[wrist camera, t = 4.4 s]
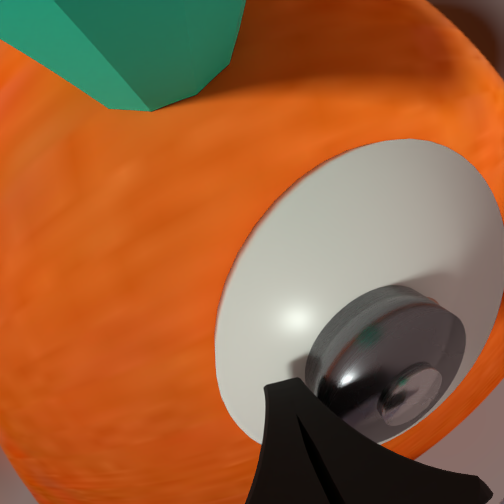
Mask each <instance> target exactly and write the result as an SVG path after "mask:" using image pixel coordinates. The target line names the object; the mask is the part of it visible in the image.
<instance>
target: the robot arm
mask: <svg viewBox="0 0 504 504" xmlns="http://www.w3.org/2000/svg"><path fill="white" fill-rule="evenodd" d="M263 389H264V394H265V423H264V433H263V440H262V446H261V451H260V456H259V461H258V465H257V469H256V473H255V476H254V479H253V483H252V486H251V489H250V492H249V494H248V497H247V500H246V503H245V504H486V503H487V502H488V501H489V500H490V499H491V498H492V496H493V492H492V491H491V490H490V489H489V487H488V486H487V485H486V484H485V483H484V482H483V481H482V480H481V479H480V478H479V477H478V476H475V475H468V474H461V473H455V472H451V471H446V470H442V469H438V468H434V467H431V466H428V465H424V464H422V463H419V462H416V461H414V460H411V459H409V458H406V457H404V456H401V455H399V454H397V453H395V452H393V451H391V450H389V449H387V448H385V447H383V446H381V445H379V444H377V443H376V442H374V441H372V440H371V439H369V438H367V437H366V436H364V435H363V434H361V433H360V432H358V431H357V430H356V429H354V428H353V427H351V426H350V425H349V424H347V423H346V422H345V421H343V420H342V419H341V418H340V417H338V416H337V415H336V414H335V413H334V412H333V411H331V410H330V409H329V408H328V407H327V406H326V405H325V404H324V403H323V402H322V401H320V400H319V399H318V398H317V397H316V396H315V395H314V393H313V392H312V391H311V390H310V389H309V388H308V387H307V386H306V385H305V383H304V382H303V381H302V380H301V379H300V378H298V377H295V378H291V379H288V380H284V381H280V382H275V383H271V384H267V385H265V386H264V388H263ZM498 504H504V499H503V500H501V502H499V503H498Z"/></svg>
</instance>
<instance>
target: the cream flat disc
mask: <svg viewBox="0 0 504 504" xmlns="http://www.w3.org/2000/svg"><path fill="white" fill-rule="evenodd" d="M389 285H401V286H406V287H410V288H412V289H414V290H415V291H417V292H419V293H420V294H422V295H424V296H425V297H427V298H429V299H430V300H432V301H434V302H435V303H437V304H438V305H440V306H442V307H443V308H445V309H446V310H448V311H450V312H451V313H453V314H454V315H456V316H457V317H458V318H459V319H460V320H461V322H462V323H463V325H464V328H465V333H466V346H465V352H464V356H463V359H462V362H461V365H460V367H459V370H458V372H457V374H456V376H455V378H454V380H453V381H452V383H451V385H450V386H449V388H448V389H447V391H446V392H445V393H444V395H443V396H442V397H441V398H440V400H439V401H438V402H437V403H436V404H435V405H434V406H433V407H432V408H431V410H430V411H429V412H427V413H426V414H425V415H424V416H423V417H422V418H421V419H419V420H418V421H417V422H416V423H414V424H413V425H412V426H410V427H409V428H407V429H406V430H404V431H402V432H401V433H399V434H397V435H395V436H393V437H391V438H389V439H387V440H385V441H382V442H379V443H377V444H379V445H380V444H383V443H385V442H387V441H389V440H391V439H393V438H395V437H397V436H399V435H400V434H402V433H404V432H405V431H407V430H408V429H410V428H412V427H413V426H415V425H416V424H417V423H419V422H420V421H421V420H423V419H424V418H425V417H427V416H428V415H429V414H430V413H431V412H433V411H434V410H435V409H436V408H437V407H438V406H439V405H440V404H441V403H442V402H443V401H444V400H445V399H446V398H447V397H448V396H449V395H450V394H451V393H452V392H453V391H454V390H455V389H456V387H457V386H458V385H459V384H460V383H461V381H462V380H463V379H464V377H465V376H466V375H467V373H468V372H469V370H470V369H471V368H472V366H473V365H474V363H475V361H476V360H477V358H478V356H479V355H480V353H481V351H482V349H483V347H484V345H485V343H486V341H487V339H488V337H489V335H490V333H491V330H492V328H493V325H494V323H495V320H496V317H497V314H498V310H499V307H500V303H501V299H502V295H503V290H504V226H503V221H502V218H501V214H500V210H499V207H498V205H497V202H496V200H495V198H494V195H493V193H492V191H491V190H490V188H489V186H488V184H487V183H486V181H485V179H484V178H483V177H482V176H481V174H480V173H479V172H478V171H477V170H476V168H475V167H474V166H473V165H472V164H470V163H469V162H468V161H467V160H466V159H465V158H464V157H462V156H461V155H459V154H458V153H456V152H454V151H453V150H451V149H449V148H447V147H445V146H442V145H439V144H436V143H433V142H430V141H424V140H416V139H401V140H389V141H382V142H377V143H371V144H367V145H363V146H360V147H356V148H353V149H350V150H346V151H344V152H342V153H340V154H338V155H336V156H334V157H332V158H330V159H328V160H326V161H324V162H322V163H320V164H319V165H317V166H316V167H314V168H313V169H312V170H310V171H309V172H307V173H306V174H304V175H303V176H302V177H300V178H299V179H297V180H296V181H295V182H294V183H293V184H292V185H291V186H290V187H289V188H288V189H287V190H286V191H285V192H283V193H282V194H281V195H280V196H279V197H278V198H277V199H276V200H275V201H274V202H273V204H272V205H271V206H270V207H269V208H268V210H267V211H266V212H265V213H264V215H263V216H262V217H261V218H260V219H259V221H258V222H257V223H256V224H255V226H254V227H253V229H252V231H251V232H250V234H249V235H248V237H247V239H246V240H245V242H244V244H243V245H242V247H241V248H240V250H239V252H238V253H237V256H236V258H235V260H234V263H233V265H232V267H231V269H230V272H229V274H228V276H227V278H226V281H225V284H224V287H223V291H222V295H221V298H220V302H219V305H218V309H217V317H216V325H215V333H214V334H215V359H216V376H217V380H218V385H219V389H220V393H221V397H222V399H223V401H224V403H225V406H226V408H227V410H228V412H229V414H230V415H231V417H232V418H233V419H234V421H235V422H236V423H237V425H238V426H239V427H240V428H241V429H242V430H243V431H244V432H245V433H246V434H247V435H248V436H249V437H250V438H252V439H253V440H255V441H256V442H258V443H259V444H261V445H262V440H263V433H264V423H265V394H264V389H263V388H264V386H265V385H267V384H271V383H275V382H280V381H284V380H288V379H291V378H295V377H298V378H300V379H301V380H302V381H303V382H304V383H305V385H306V382H305V366H306V361H307V358H308V355H309V352H310V350H311V348H312V345H313V343H314V342H315V340H316V338H317V337H318V335H319V334H320V332H321V331H322V329H323V328H324V327H325V325H326V324H327V323H328V322H329V321H330V320H331V319H332V318H333V316H335V315H336V314H337V313H338V312H339V311H340V310H341V309H342V308H343V307H345V306H346V305H347V304H349V303H350V302H351V301H353V300H354V299H356V298H357V297H359V296H361V295H363V294H365V293H367V292H369V291H371V290H374V289H376V288H379V287H384V286H389Z"/></svg>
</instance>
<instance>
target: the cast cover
mask: <svg viewBox="0 0 504 504" xmlns="http://www.w3.org/2000/svg"><path fill="white" fill-rule="evenodd" d="M465 346H466V333H465V328H464V325H463V323H462V322H461V320H460V319H459V318H458V317H457V316H456V315H454V314H453V313H451V312H450V311H448V310H446V309H445V308H443V307H442V306H440V305H438V304H437V303H435V302H434V301H432V300H430V299H429V298H427V297H425V296H424V295H422V294H420V293H419V292H417V291H415V290H414V289H412V288H410V287H406V286H401V285H389V286H384V287H379V288H376V289H374V290H371V291H369V292H367V293H365V294H363V295H361V296H359V297H357V298H356V299H354V300H353V301H351V302H350V303H349V304H347V305H346V306H345V307H343V308H342V309H341V310H340V311H339V312H338V313H337V314H336V315H335V316H333V318H332V319H331V320H330V321H329V322H328V323H327V324H326V325H325V327H324V328H323V329H322V331H321V332H320V334H319V335H318V337H317V338H316V340H315V342H314V343H313V345H312V348H311V350H310V352H309V355H308V358H307V361H306V366H305V382H306V386H307V387H308V388H309V389H310V390H311V391H312V392H313V393H314V395H315V396H316V397H317V398H318V399H319V400H320V401H322V402H323V403H324V404H325V405H326V406H327V407H328V408H329V409H330V410H331V411H333V412H334V413H335V414H336V415H337V416H338V417H340V418H341V419H342V420H343V421H345V422H346V423H347V424H349V425H350V426H351V427H353V428H354V429H356V430H357V431H358V432H360V433H361V434H363V435H364V436H366V437H367V438H369V439H371V440H372V441H374V442H376V443H379V442H382V441H385V440H387V439H389V438H391V437H393V436H395V435H397V434H399V433H401V432H402V431H404V430H406V429H407V428H409V427H410V426H412V425H413V424H414V423H416V422H417V421H418V420H419V419H421V418H422V417H423V416H424V415H425V414H426V413H427V412H429V411H430V410H431V408H432V407H433V406H434V405H435V404H436V403H437V402H438V401H439V400H440V398H441V397H442V396H443V395H444V393H445V392H446V391H447V389H448V388H449V386H450V385H451V383H452V381H453V380H454V378H455V376H456V374H457V372H458V370H459V367H460V365H461V362H462V359H463V356H464V352H465Z"/></svg>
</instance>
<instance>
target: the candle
mask: <svg viewBox="0 0 504 504" xmlns="http://www.w3.org/2000/svg"><path fill="white" fill-rule="evenodd" d="M245 3H246V0H0V39H1V40H3V41H4V42H6V43H8V44H9V45H11V46H13V47H14V48H16V49H18V50H19V51H21V52H23V53H24V54H26V55H28V56H29V57H31V58H32V59H34V60H36V61H37V62H39V63H40V64H42V65H44V66H45V67H47V68H48V69H50V70H51V71H53V72H54V73H56V74H58V75H59V76H61V77H62V78H64V79H65V80H67V81H68V82H70V83H71V84H73V85H74V86H76V87H77V88H79V89H80V90H82V91H83V92H85V93H86V94H88V95H89V96H91V97H92V98H94V99H95V100H97V101H98V102H100V103H101V104H103V105H104V106H105V107H107V108H108V109H123V110H138V111H150V112H152V111H154V110H156V109H159V108H161V107H164V106H167V105H169V104H172V103H174V102H177V101H180V100H183V99H185V98H188V97H191V96H194V95H197V94H198V93H199V92H200V91H201V90H202V89H203V88H204V87H205V86H206V85H207V84H208V83H209V82H210V81H211V80H212V79H213V78H214V77H216V76H217V75H218V74H219V73H220V72H221V71H222V70H223V69H224V68H225V67H227V66H228V65H229V64H230V60H231V56H232V53H233V49H234V46H235V42H236V39H237V36H238V32H239V29H240V24H241V20H242V16H243V12H244V7H245Z"/></svg>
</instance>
